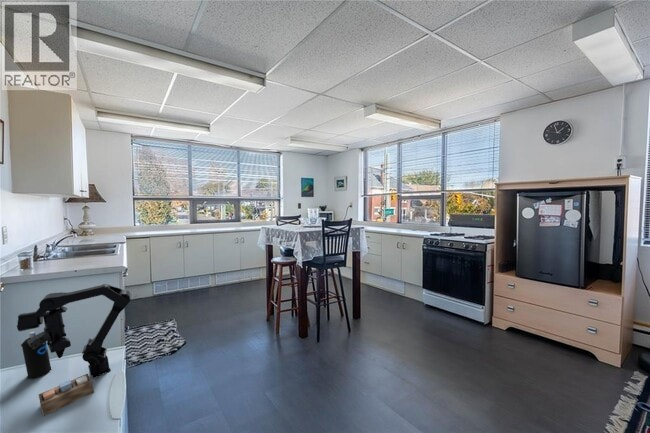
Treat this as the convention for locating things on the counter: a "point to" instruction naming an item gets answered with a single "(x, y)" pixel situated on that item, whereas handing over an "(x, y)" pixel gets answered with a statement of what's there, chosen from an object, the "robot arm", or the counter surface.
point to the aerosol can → (36, 359)
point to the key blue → (65, 386)
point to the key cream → (81, 380)
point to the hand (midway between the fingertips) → (60, 357)
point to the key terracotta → (48, 394)
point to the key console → (66, 396)
